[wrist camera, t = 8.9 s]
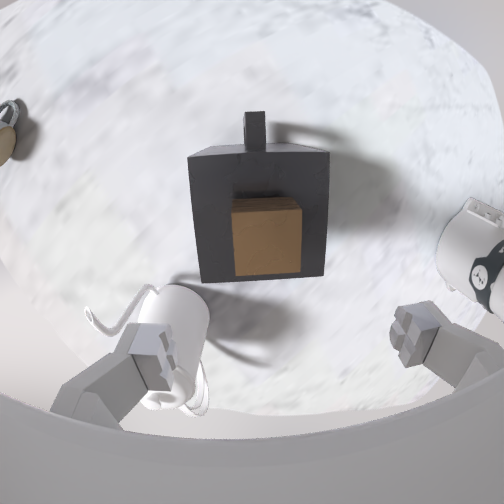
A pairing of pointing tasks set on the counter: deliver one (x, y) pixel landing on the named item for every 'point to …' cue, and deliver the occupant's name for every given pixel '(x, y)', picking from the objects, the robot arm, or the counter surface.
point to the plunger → (266, 235)
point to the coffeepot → (184, 334)
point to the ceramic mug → (7, 133)
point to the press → (257, 186)
